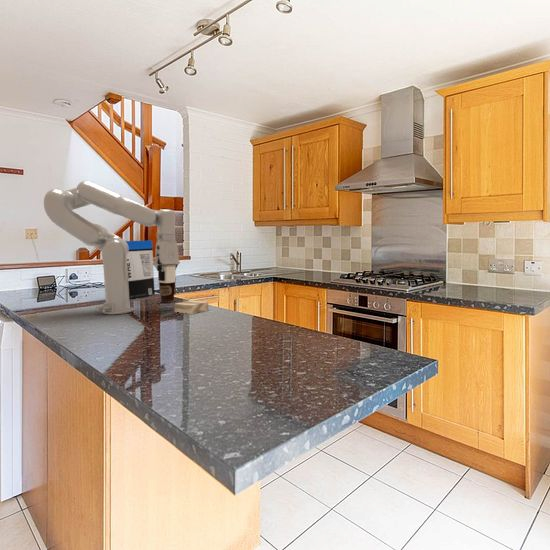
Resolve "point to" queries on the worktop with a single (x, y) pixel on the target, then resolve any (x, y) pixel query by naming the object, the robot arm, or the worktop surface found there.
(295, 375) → the worktop surface
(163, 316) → the worktop surface
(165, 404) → the worktop surface
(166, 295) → the coffee cup
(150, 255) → the protein powder
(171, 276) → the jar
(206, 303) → the block
